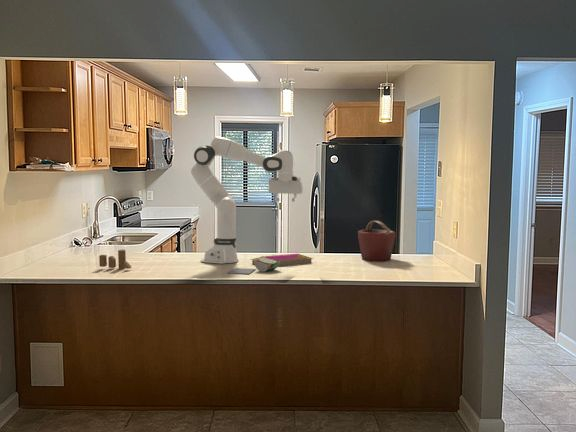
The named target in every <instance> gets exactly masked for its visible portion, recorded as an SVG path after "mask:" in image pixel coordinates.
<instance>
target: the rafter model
mask: <svg viewBox="0 0 576 432" xmlns="http://www.w3.org/2000/svg"><path fill="white" fill-rule="evenodd" d="M262 256H263V257H265V258H270V259H273V260H276V261H280V263H279V265H278V267H288V265H290V266H299V265H305V264H306V265H307V264H312V260H313V259H314V258H313V257H310V256H306V255H303V254H300V253H287V254H273V255H262ZM260 257H261V256H258V257H256V258H251V259H250V261H251V263H252V265H254V266H255V263H254V261H256V260H257V259H259V258H260ZM298 264H299V265H298Z"/></svg>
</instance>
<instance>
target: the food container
mask: <svg viewBox="0 0 576 432" xmlns="http://www.w3.org/2000/svg"><path fill="white" fill-rule="evenodd" d="M263 256H264V255H261V256H259V257H260V258H259V257H258V258H259V259H257V260H256V261H254V263H255V265H254V268H255V269H256V270H258V271H259V272H260V273H266V272H267V271H273V270H275V269H277V268H278V267H279V266H278V265H279V263H280V261H276V260H273V259H270V258H265V257H263Z"/></svg>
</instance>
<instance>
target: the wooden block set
mask: <svg viewBox="0 0 576 432" xmlns="http://www.w3.org/2000/svg"><path fill="white" fill-rule="evenodd" d="M117 253H118V254H117V256H118V257H117V258H118V260H116V258H115V256H114V255H109V256H107V254H100V255H99V256H98V258H99V259H98V261H99V267H100V268H105V267H107V265H108V269H114V268H116V267H117V263H118V269H119V270H125V269H132V265H131V264H130V263H129V262H128V261H127V260H126V258H127V257H126V256H127V255H126V254H127V253H126V249H118V251H117ZM107 257H108V258H107ZM107 259H108V261H107ZM116 262H117V263H116Z"/></svg>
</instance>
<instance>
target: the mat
mask: <svg viewBox="0 0 576 432" xmlns="http://www.w3.org/2000/svg"><path fill="white" fill-rule="evenodd" d="M256 270H257V268H242V267H241V268H237V267H235V268H233V269H230V270H229V271H227V274H229V275H231V274H232V275H247V276H248V275H251V274H252V273H254V272H255V271H256Z"/></svg>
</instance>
